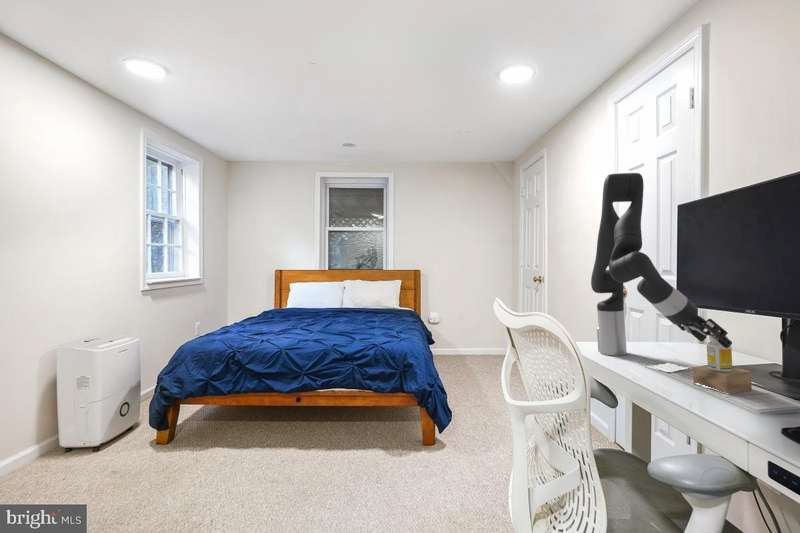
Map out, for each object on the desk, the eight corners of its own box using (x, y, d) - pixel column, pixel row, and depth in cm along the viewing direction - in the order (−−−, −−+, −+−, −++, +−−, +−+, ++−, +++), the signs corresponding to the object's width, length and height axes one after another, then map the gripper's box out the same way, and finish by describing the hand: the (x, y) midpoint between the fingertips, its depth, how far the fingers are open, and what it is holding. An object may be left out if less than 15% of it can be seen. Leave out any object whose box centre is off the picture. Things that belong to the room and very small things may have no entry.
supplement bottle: (705, 369, 105) (703, 336, 105) (710, 365, 109) (708, 333, 109) (730, 373, 101) (728, 338, 101) (734, 368, 104) (732, 335, 104)
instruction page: (646, 367, 126) (646, 366, 126) (666, 362, 130) (666, 361, 130) (669, 373, 119) (669, 372, 119) (690, 368, 122) (690, 367, 122)
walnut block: (693, 384, 108) (692, 367, 108) (716, 379, 110) (715, 363, 110) (727, 394, 100) (726, 375, 99) (751, 389, 102) (750, 371, 102)
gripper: (702, 297, 98) (748, 337, 98) (664, 293, 112) (704, 327, 112) (683, 318, 98) (729, 358, 98) (647, 311, 112) (687, 346, 112)
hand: (715, 342), depth 105 cm, fingers open, 8 cm apart
